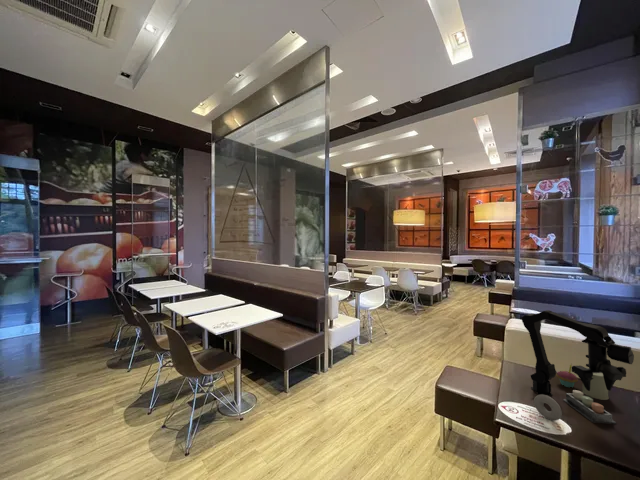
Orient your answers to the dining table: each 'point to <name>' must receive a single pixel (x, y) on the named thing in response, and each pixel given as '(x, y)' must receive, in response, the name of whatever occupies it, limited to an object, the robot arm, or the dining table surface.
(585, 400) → the green rounded piece
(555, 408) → the donut
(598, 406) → the brown egg
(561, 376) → the cupcake
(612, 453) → the dining table surface
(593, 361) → the robot arm
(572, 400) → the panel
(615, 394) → the dining table surface
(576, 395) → the white egg
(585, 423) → the dining table surface
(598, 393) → the can
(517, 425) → the dining table surface
